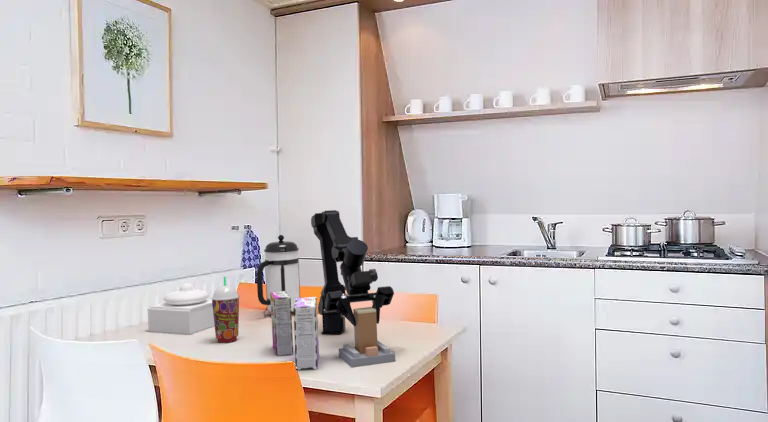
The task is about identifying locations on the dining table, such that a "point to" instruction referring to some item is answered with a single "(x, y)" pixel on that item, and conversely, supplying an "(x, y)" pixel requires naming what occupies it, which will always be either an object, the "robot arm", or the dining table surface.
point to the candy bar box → (281, 323)
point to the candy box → (306, 333)
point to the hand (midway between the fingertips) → (366, 324)
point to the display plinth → (366, 355)
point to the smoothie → (226, 313)
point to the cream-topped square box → (365, 328)
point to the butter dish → (182, 312)
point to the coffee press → (279, 271)
